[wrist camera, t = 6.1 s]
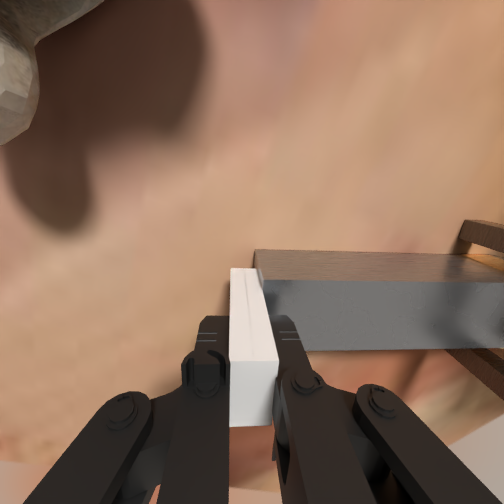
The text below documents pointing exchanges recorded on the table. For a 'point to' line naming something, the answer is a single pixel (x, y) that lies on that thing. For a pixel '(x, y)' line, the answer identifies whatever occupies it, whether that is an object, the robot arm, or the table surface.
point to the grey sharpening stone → (386, 298)
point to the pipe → (27, 55)
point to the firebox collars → (481, 359)
